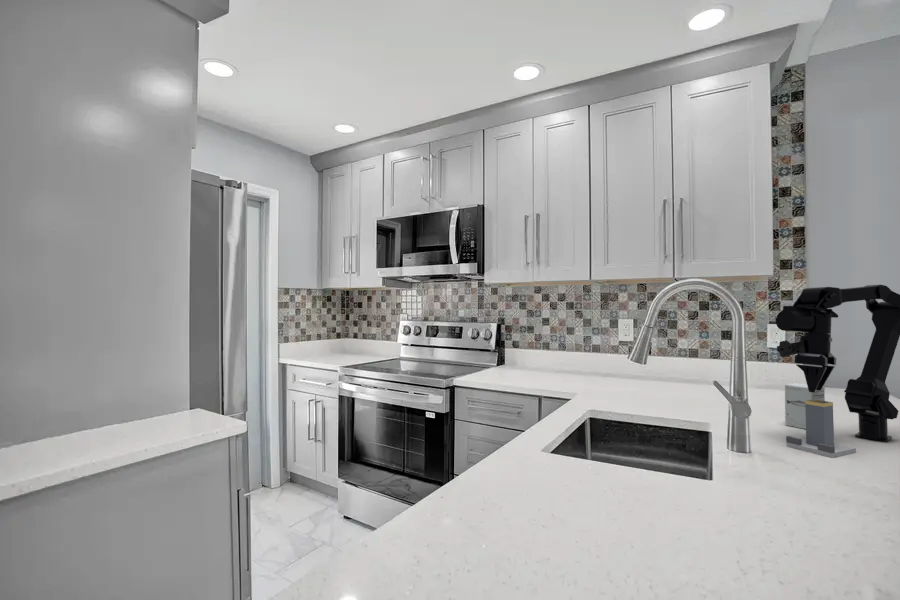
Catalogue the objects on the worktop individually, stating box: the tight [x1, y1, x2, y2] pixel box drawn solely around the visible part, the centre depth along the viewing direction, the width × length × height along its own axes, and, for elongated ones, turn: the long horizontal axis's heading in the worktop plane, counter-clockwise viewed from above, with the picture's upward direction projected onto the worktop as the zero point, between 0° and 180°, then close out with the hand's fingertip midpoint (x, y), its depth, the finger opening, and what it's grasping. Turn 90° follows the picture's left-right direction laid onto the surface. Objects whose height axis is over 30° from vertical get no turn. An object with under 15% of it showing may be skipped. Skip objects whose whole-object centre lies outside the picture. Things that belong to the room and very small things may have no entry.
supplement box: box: [784, 382, 826, 430], centre depth 133 cm, size 7×7×13 cm
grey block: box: [805, 399, 835, 447], centre depth 111 cm, size 4×4×11 cm
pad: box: [785, 435, 857, 459], centre depth 111 cm, size 10×10×2 cm
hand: (814, 391), depth 118 cm, fingers open, 9 cm apart
